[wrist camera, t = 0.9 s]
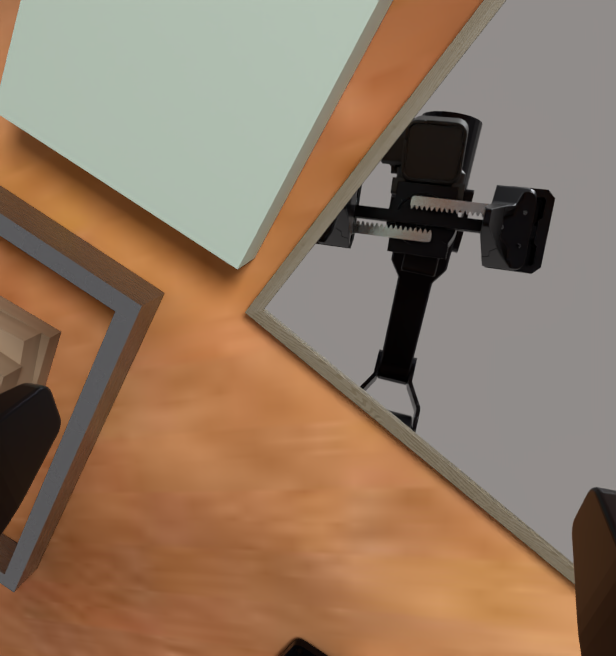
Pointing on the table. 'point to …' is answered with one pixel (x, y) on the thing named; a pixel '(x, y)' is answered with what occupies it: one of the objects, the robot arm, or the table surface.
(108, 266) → the offcut tray
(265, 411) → the table surface
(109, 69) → the green board
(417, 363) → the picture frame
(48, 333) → the offcut stack
